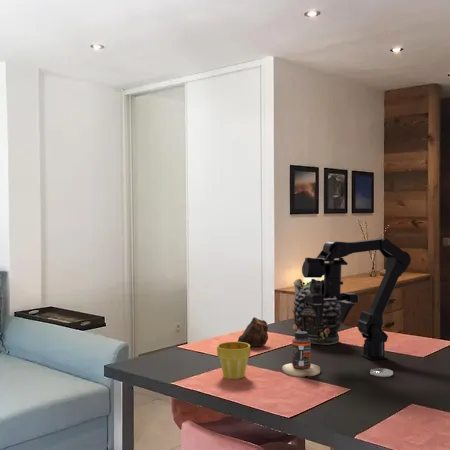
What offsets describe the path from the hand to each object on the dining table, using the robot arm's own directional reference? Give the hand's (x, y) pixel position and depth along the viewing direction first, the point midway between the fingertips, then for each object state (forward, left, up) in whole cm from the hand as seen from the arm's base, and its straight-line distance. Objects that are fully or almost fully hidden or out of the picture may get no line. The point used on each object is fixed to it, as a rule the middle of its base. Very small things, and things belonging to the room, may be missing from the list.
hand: (330, 323), depth 198 cm
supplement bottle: (+15, +8, -12) cm, 21 cm away
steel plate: (-6, +20, -13) cm, 24 cm away
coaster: (+16, +8, -13) cm, 22 cm away
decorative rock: (+16, -30, -13) cm, 37 cm away
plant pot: (+38, +5, -13) cm, 40 cm away
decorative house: (-10, -28, -13) cm, 33 cm away
